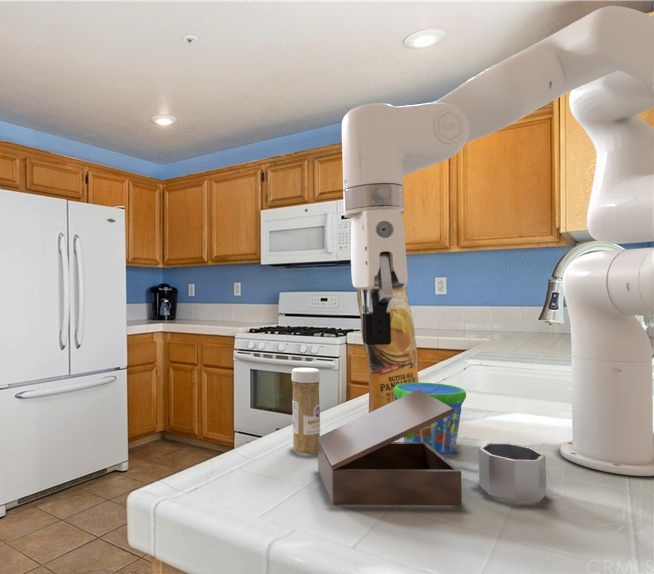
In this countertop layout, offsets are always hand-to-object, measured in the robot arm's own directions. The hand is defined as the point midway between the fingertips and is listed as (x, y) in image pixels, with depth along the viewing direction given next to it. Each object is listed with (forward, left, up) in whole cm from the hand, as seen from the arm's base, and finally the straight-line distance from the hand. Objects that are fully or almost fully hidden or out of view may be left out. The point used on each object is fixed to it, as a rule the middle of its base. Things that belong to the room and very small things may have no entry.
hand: (376, 343), depth 64 cm
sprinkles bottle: (+7, -15, -19) cm, 26 cm away
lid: (0, 0, -11) cm, 11 cm away
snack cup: (-13, -16, -19) cm, 28 cm away
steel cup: (-16, +1, -19) cm, 25 cm away
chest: (-1, 0, -19) cm, 19 cm away
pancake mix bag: (-13, -36, -19) cm, 43 cm away
